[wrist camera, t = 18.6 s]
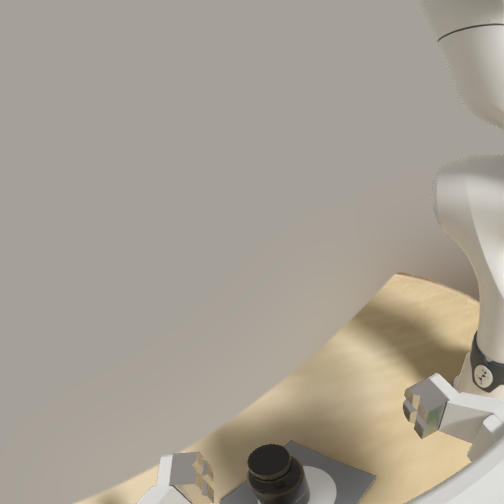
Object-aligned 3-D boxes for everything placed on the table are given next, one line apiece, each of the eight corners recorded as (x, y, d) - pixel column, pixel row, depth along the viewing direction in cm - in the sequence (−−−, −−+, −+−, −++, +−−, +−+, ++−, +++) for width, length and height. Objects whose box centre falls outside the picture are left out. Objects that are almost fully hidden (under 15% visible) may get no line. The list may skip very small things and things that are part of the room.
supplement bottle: (314, 512, 24) (302, 478, 21) (262, 520, 25) (236, 487, 22) (308, 475, 31) (295, 432, 28) (261, 483, 31) (238, 442, 28)
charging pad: (292, 443, 39) (290, 439, 39) (375, 479, 27) (376, 475, 27) (221, 505, 29) (218, 501, 29) (303, 561, 17) (302, 559, 17)
